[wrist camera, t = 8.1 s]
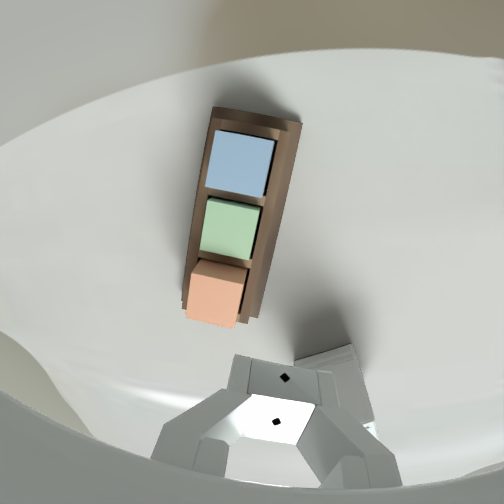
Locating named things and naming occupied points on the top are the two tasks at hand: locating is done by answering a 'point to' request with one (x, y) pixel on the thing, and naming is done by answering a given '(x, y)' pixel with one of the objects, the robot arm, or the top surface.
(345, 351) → the supplement box
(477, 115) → the top surface
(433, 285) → the top surface
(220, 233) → the sage block
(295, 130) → the divided box
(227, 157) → the blue block
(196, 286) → the terracotta block
